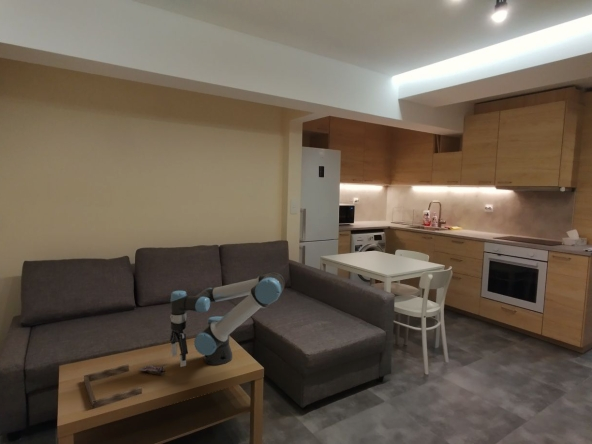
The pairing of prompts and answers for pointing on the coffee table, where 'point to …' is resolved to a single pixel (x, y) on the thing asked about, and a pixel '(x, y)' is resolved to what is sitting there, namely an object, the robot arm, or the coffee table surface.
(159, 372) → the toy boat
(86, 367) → the coffee table surface
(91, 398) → the frame
